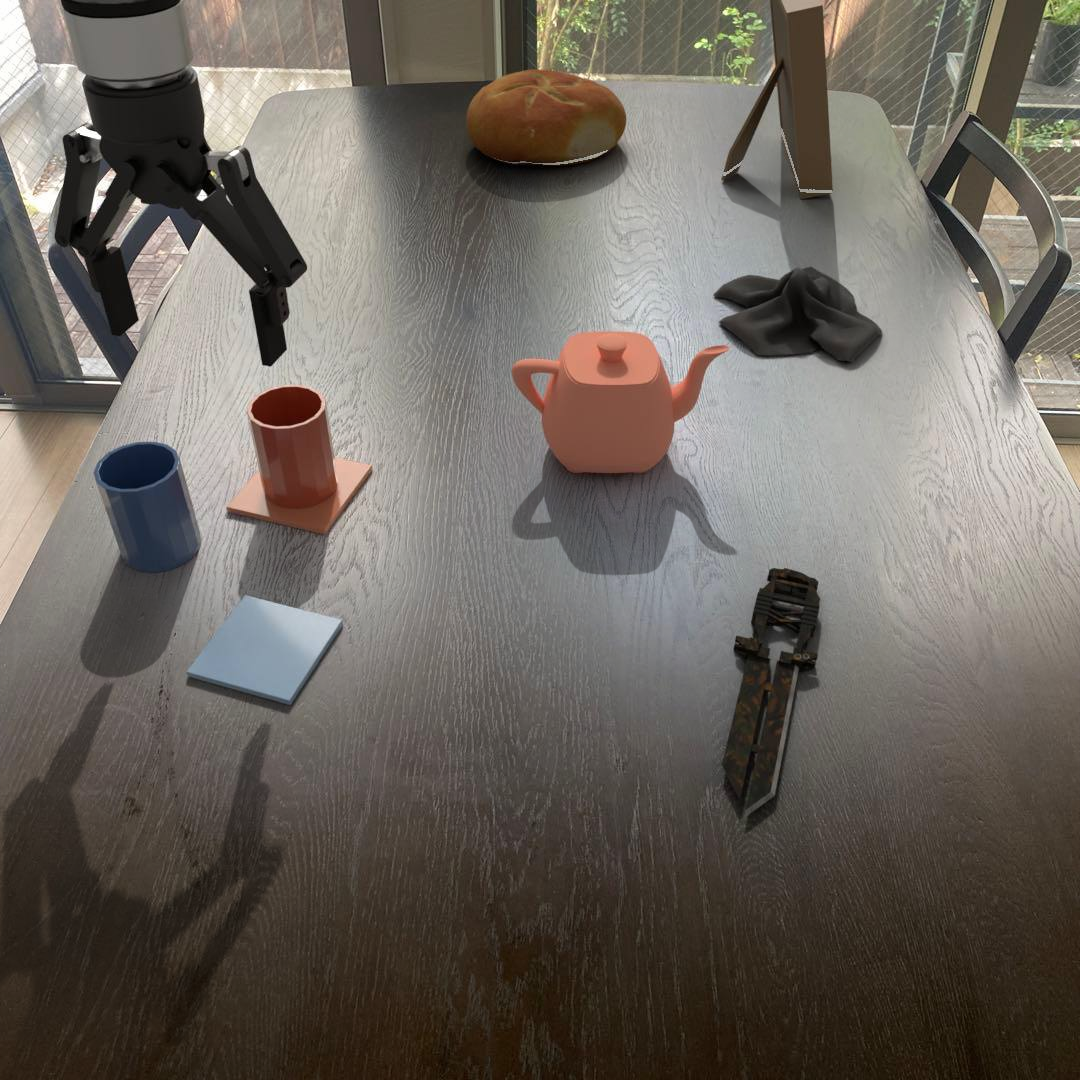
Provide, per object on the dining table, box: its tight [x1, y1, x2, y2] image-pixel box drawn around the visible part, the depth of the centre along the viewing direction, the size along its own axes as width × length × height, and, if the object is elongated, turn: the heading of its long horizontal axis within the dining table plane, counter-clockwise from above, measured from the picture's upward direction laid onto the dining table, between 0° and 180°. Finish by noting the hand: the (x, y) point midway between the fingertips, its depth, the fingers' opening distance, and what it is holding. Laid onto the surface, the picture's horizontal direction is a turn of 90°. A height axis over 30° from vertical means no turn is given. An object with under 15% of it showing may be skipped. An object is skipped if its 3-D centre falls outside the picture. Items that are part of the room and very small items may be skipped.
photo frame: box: [720, 0, 834, 200], centre depth 149 cm, size 15×22×25 cm
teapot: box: [511, 330, 730, 474], centre depth 103 cm, size 13×20×12 cm, turn 90°
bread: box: [465, 69, 627, 167], centre depth 160 cm, size 23×23×10 cm
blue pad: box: [186, 594, 344, 706], centre depth 86 cm, size 9×9×1 cm
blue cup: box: [93, 440, 202, 573], centre depth 93 cm, size 7×7×9 cm
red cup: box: [246, 384, 338, 509], centre depth 98 cm, size 7×7×9 cm
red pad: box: [226, 457, 374, 536], centre depth 101 cm, size 10×10×1 cm
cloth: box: [712, 266, 883, 363], centre depth 124 cm, size 22×19×6 cm
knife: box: [721, 567, 821, 819], centre depth 83 cm, size 25×6×1 cm, turn 157°
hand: (199, 342), depth 87 cm, fingers open, 13 cm apart
